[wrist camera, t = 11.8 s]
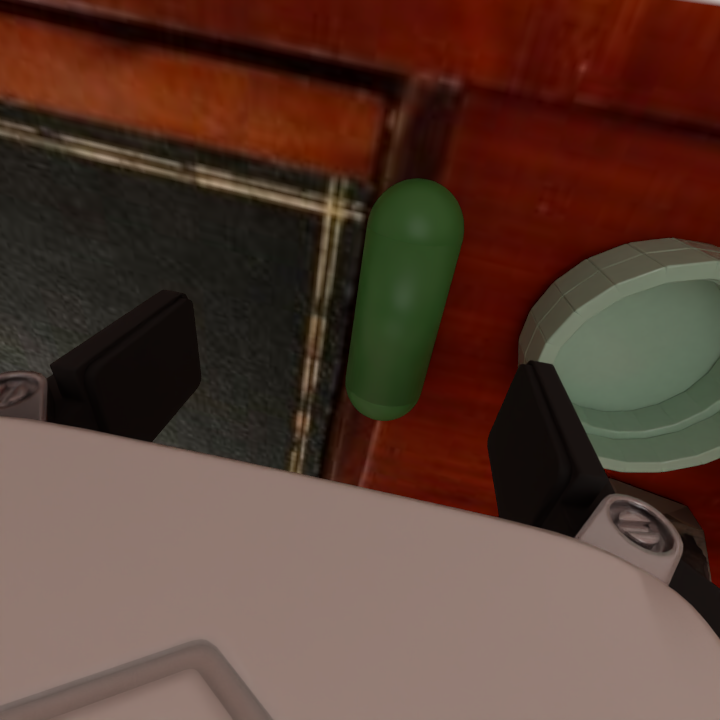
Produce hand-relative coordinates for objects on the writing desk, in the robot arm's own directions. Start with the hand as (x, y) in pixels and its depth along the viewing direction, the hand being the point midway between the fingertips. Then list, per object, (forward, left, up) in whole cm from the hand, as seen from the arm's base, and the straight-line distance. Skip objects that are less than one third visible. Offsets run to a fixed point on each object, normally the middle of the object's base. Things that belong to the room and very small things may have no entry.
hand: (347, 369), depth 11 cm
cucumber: (+1, +1, -8) cm, 8 cm away
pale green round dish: (+1, +11, -8) cm, 13 cm away
